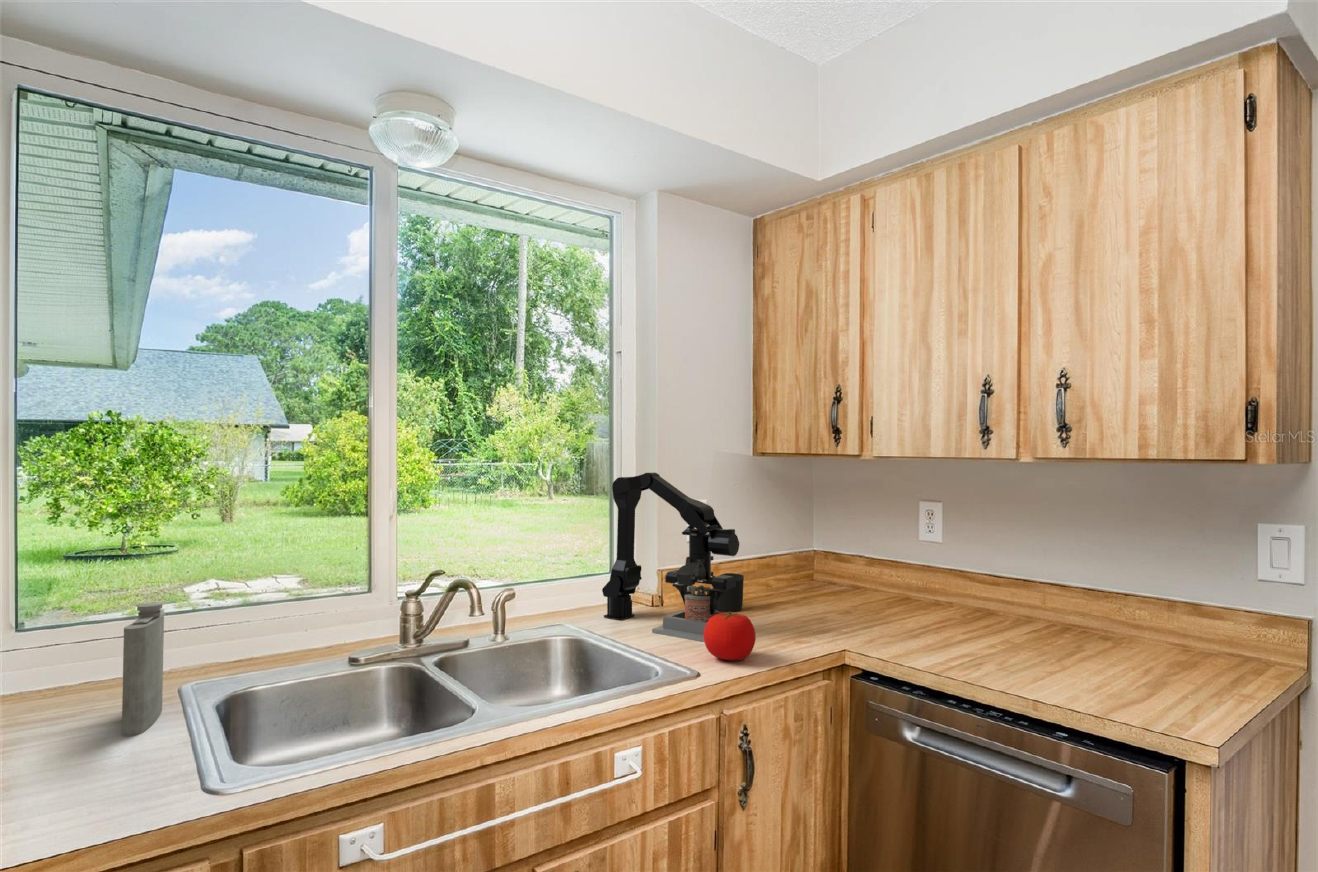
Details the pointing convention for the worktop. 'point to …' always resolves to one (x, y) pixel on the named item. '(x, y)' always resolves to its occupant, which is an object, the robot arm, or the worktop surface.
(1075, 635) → the worktop surface
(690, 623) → the stand
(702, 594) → the lighter
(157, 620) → the hip flask
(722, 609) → the pen holder
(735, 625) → the tomato
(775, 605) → the worktop surface
